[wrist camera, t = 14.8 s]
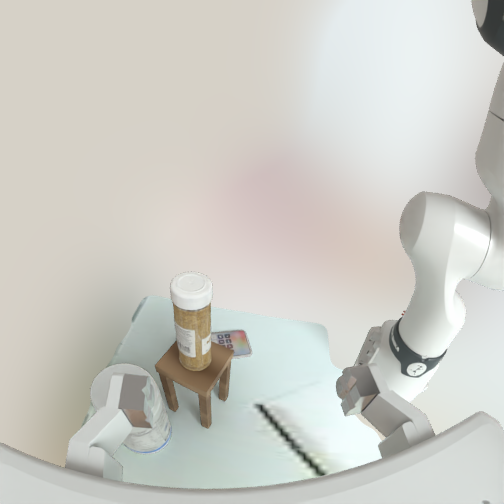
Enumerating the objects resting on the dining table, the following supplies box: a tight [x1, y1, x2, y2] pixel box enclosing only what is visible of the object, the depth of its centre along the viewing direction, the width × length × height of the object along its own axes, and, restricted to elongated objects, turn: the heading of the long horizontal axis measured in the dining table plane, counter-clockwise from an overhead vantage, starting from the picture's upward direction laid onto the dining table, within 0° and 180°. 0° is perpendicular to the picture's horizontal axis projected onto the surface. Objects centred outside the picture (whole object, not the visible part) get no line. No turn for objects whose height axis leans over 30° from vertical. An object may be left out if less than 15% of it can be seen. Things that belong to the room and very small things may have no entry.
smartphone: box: [176, 330, 252, 359], centre depth 55 cm, size 7×1×15 cm
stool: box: [155, 340, 234, 428], centre depth 40 cm, size 8×8×14 cm
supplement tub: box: [90, 363, 172, 454], centre depth 33 cm, size 10×10×15 cm
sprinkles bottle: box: [170, 272, 213, 371], centre depth 32 cm, size 5×5×14 cm
